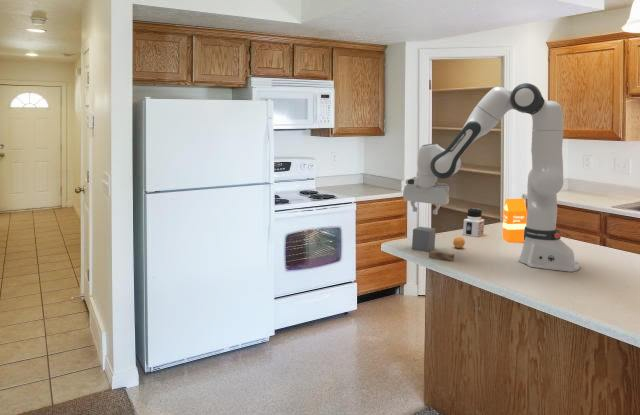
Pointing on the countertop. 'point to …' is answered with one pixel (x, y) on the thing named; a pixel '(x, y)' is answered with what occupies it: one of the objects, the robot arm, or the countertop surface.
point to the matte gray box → (423, 238)
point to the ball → (458, 242)
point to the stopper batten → (441, 255)
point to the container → (473, 223)
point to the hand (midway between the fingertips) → (424, 212)
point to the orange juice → (514, 220)
